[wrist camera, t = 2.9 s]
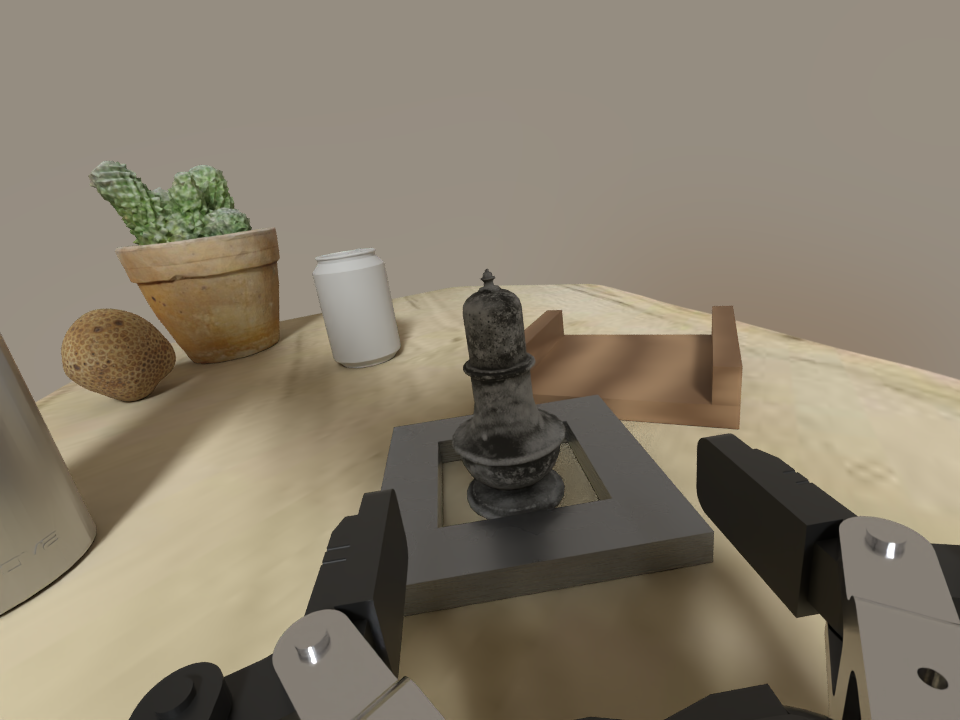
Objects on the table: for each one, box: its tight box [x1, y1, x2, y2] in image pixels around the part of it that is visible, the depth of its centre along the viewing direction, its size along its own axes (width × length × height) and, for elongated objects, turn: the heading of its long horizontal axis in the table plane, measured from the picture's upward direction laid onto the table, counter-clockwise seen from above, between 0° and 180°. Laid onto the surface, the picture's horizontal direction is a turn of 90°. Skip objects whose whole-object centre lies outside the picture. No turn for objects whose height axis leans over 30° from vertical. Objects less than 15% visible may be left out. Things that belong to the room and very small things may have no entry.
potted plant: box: [89, 161, 280, 364], centre depth 61 cm, size 18×19×25 cm
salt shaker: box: [452, 269, 565, 519], centre depth 23 cm, size 6×6×12 cm
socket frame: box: [381, 395, 714, 616], centre depth 25 cm, size 14×14×2 cm
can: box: [312, 248, 401, 368], centre depth 50 cm, size 8×8×12 cm
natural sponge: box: [61, 309, 176, 401], centre depth 48 cm, size 9×9×10 cm
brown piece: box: [524, 306, 742, 429], centre depth 36 cm, size 16×14×4 cm
